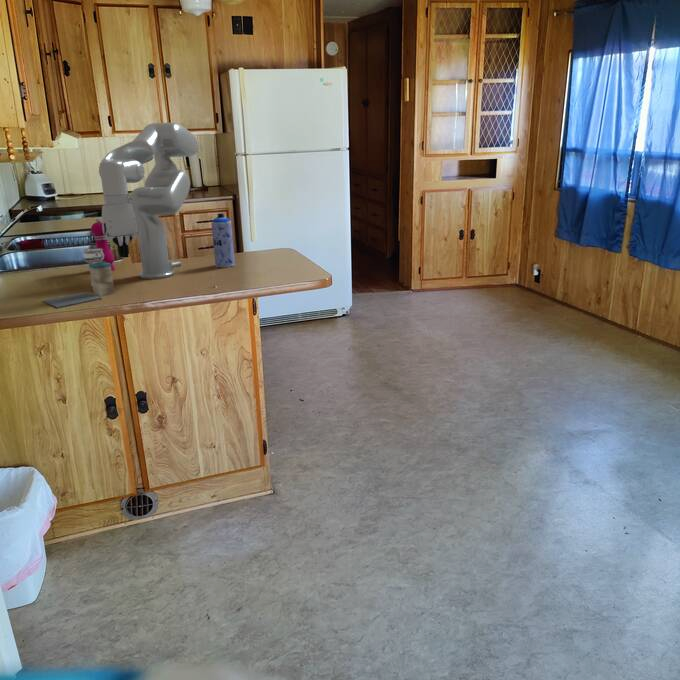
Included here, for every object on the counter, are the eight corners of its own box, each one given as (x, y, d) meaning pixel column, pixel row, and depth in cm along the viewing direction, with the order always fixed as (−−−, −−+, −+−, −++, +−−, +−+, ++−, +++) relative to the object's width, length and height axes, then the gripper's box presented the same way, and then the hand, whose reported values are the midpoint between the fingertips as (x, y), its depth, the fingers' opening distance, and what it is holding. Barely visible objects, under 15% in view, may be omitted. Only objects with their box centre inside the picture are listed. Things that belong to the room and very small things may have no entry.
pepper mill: (118, 270, 234) (110, 218, 227) (98, 273, 230) (90, 220, 224) (113, 267, 240) (105, 216, 233) (94, 270, 236) (85, 218, 229)
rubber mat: (86, 292, 201) (86, 291, 201) (101, 298, 193) (101, 297, 193) (42, 301, 192) (42, 300, 192) (57, 308, 184) (56, 307, 184)
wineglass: (107, 284, 211) (102, 250, 207) (87, 286, 209) (81, 252, 206) (109, 280, 217) (103, 247, 213) (88, 282, 216) (83, 249, 212)
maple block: (108, 291, 203) (103, 261, 199) (115, 293, 199) (110, 263, 196) (93, 294, 199) (88, 264, 196) (100, 296, 196) (95, 266, 193)
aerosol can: (210, 266, 235) (205, 214, 229) (225, 262, 241) (220, 211, 235) (225, 268, 231) (220, 215, 224) (239, 264, 237) (235, 212, 230)
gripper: (133, 198, 203) (140, 252, 209) (89, 201, 193) (97, 259, 199) (143, 199, 198) (150, 255, 203) (99, 202, 188) (107, 261, 193)
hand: (124, 256), depth 201 cm, fingers closed
